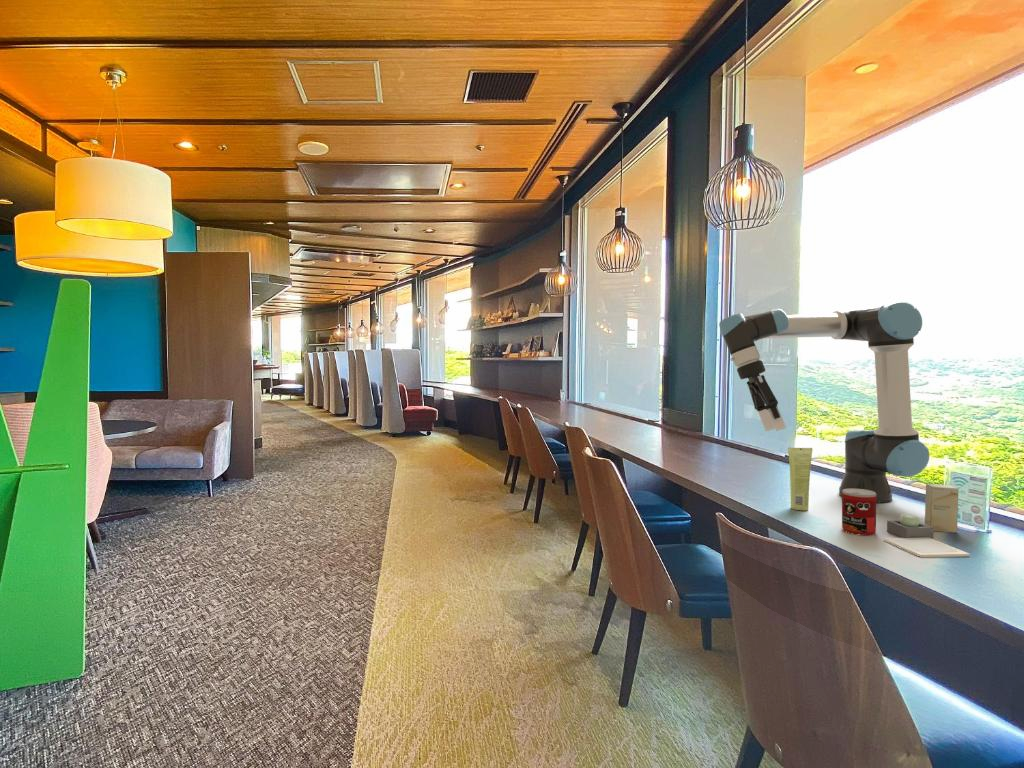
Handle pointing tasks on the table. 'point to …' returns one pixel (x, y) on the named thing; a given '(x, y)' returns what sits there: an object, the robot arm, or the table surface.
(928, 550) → the paper pad
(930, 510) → the skincare box
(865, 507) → the canned food
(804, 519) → the table surface
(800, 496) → the tube
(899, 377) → the robot arm
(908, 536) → the button box
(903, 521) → the button
